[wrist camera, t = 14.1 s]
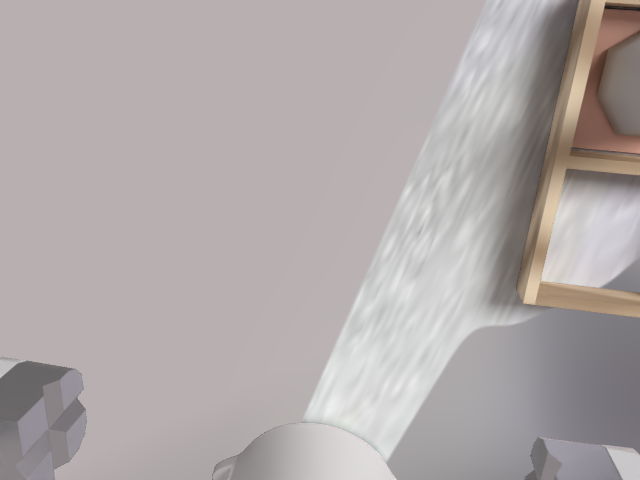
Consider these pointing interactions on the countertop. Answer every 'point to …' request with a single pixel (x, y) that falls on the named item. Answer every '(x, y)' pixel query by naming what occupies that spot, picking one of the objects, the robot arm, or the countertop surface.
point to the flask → (622, 87)
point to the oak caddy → (581, 154)
